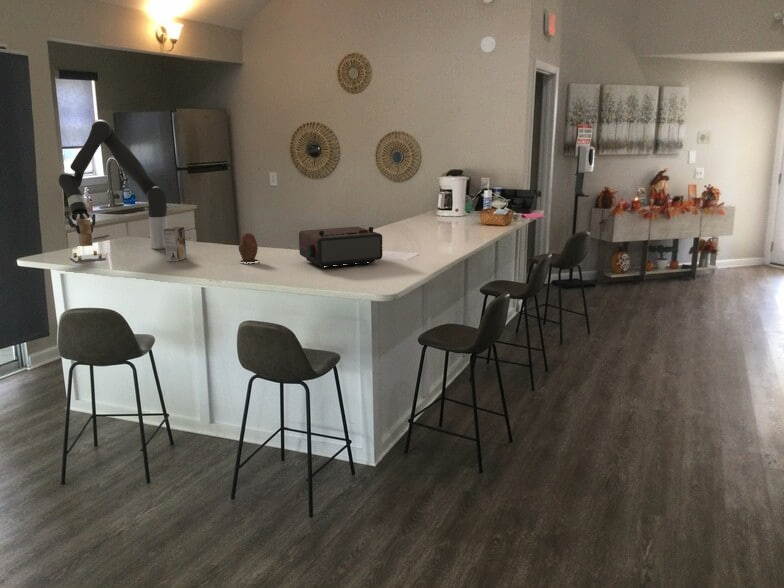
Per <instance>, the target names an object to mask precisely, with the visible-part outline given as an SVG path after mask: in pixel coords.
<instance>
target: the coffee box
mask: <svg viewBox="0 0 784 588" xmlns="http://www.w3.org/2000/svg"><path fill="white" fill-rule="evenodd" d="M164 238H165V248H164V249H165V258H166V262H170V261H178V262H180V261H179V260H181V261H183V260H185V259H184V258H186V259H187V248H186V247H187V246H186V244H187V243H186V236H185V227H184V226H171V227H168V228H167V229H164ZM182 259H183V260H182Z"/></svg>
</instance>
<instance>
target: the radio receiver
mask: <svg viewBox="0 0 784 588" xmlns="http://www.w3.org/2000/svg"><path fill="white" fill-rule="evenodd" d="M298 245H299V246H298V248H299V256H301V257H303V258H305V259H306V261H308V262H309V261H310V263H311V262H312V264H313V263H314V265H315V264H317V265H319V266H321V267H320V268H322V267H324V266H333V265H343V264H354V265H356V264H355V263H364V264H366V263H367V262H373V263H374V262H375V261H378V260H382V259H383V235H382V234H381V233H379V232H377V231H374V227H373V226H368V229H367V228H363V227H359V226H347V227H335V228H322V229H320V228H319V229H309V230H308V229H307V230H300V231H299V232H298ZM317 265H316V266H317ZM319 266H318V267H319Z"/></svg>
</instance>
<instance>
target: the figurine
mask: <svg viewBox="0 0 784 588" xmlns="http://www.w3.org/2000/svg"><path fill="white" fill-rule="evenodd" d="M240 238H241V239H240V241H241V243H239V245H238V252H239V254H240V257H241V260H240V262H246V263H247V262H255V261H259V259H256V256H257V254H258V249H259V248H258V243H257V239H256V237H255V235H254V234H253V233H251V232H245V233H243V234H242V236H241V237H240ZM240 262H239V263H240Z"/></svg>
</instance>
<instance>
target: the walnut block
mask: <svg viewBox="0 0 784 588" xmlns="http://www.w3.org/2000/svg"><path fill="white" fill-rule="evenodd" d="M77 221H78V226H79V229H80V234H78V233H77V234H78V235H77V236H78V243H79V246H81V247H89V246H91V247H93V245H94V244H93V237H92V233H91V224H90V222H91V218H89V219H77Z"/></svg>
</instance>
